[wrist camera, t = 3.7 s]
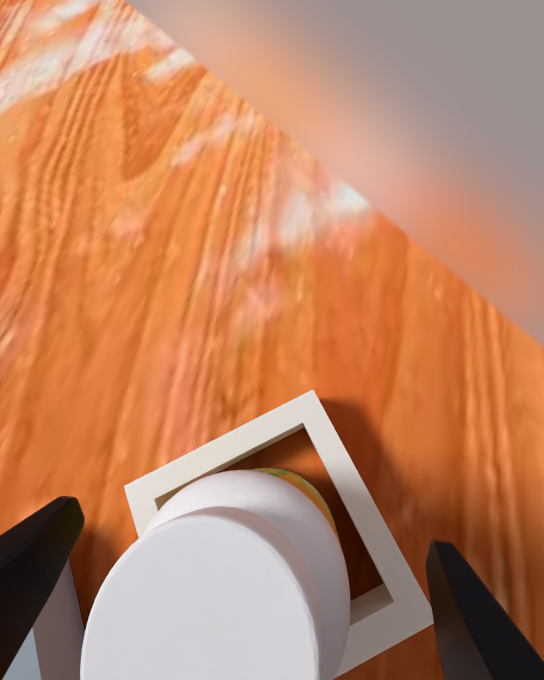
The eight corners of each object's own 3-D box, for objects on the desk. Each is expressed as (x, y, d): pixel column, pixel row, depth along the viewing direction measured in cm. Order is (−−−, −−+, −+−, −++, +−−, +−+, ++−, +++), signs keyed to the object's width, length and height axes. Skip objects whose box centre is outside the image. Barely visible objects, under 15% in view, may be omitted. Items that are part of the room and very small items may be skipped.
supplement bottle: (298, 445, 16) (270, 418, 7) (361, 572, 14) (448, 782, 5) (190, 503, 15) (7, 558, 6) (240, 640, 13) (81, 1003, 4)
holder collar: (421, 598, 13) (438, 620, 11) (217, 710, 13) (200, 753, 11) (313, 398, 16) (312, 389, 14) (146, 483, 16) (124, 485, 14)
